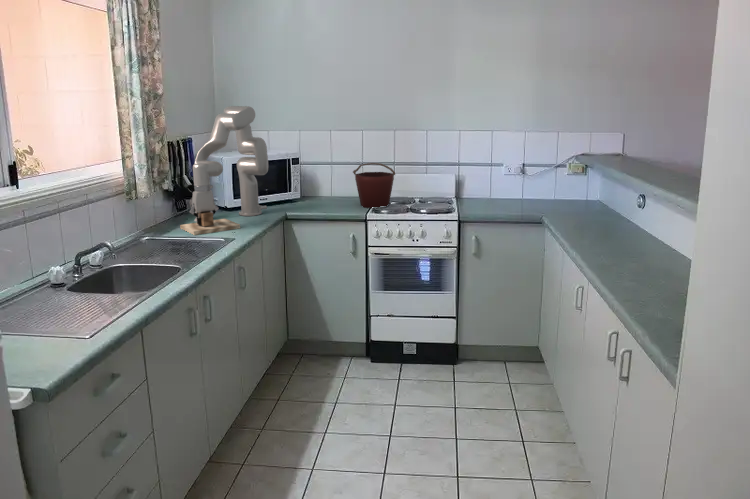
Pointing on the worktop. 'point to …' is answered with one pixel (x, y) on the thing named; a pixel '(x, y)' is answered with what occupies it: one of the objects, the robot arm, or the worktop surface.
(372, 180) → the bucket
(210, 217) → the block
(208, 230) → the plywood board
